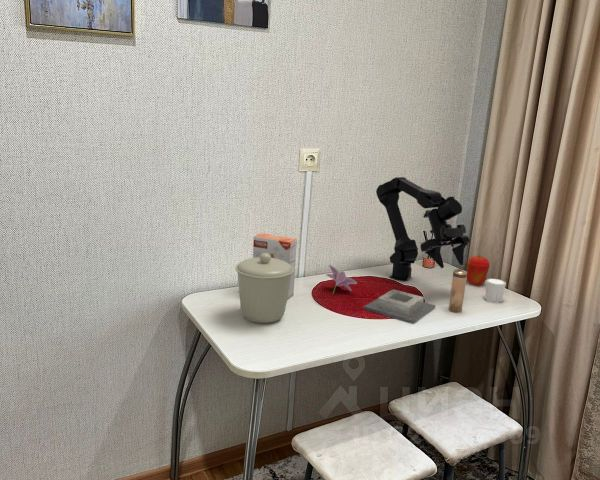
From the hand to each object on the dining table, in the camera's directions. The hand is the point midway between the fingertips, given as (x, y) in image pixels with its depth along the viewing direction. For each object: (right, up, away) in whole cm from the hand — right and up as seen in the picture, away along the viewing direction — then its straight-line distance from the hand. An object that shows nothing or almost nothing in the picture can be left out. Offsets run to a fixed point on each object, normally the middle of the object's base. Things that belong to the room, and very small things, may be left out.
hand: (452, 266), depth 202 cm
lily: (-39, -10, +7) cm, 41 cm away
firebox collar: (-19, -14, -6) cm, 25 cm away
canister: (-65, -15, -20) cm, 70 cm away
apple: (+15, -8, +24) cm, 29 cm away
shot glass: (+17, -13, +7) cm, 22 cm away
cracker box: (-63, -10, 0) cm, 64 cm away
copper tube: (0, -15, -5) cm, 16 cm away
